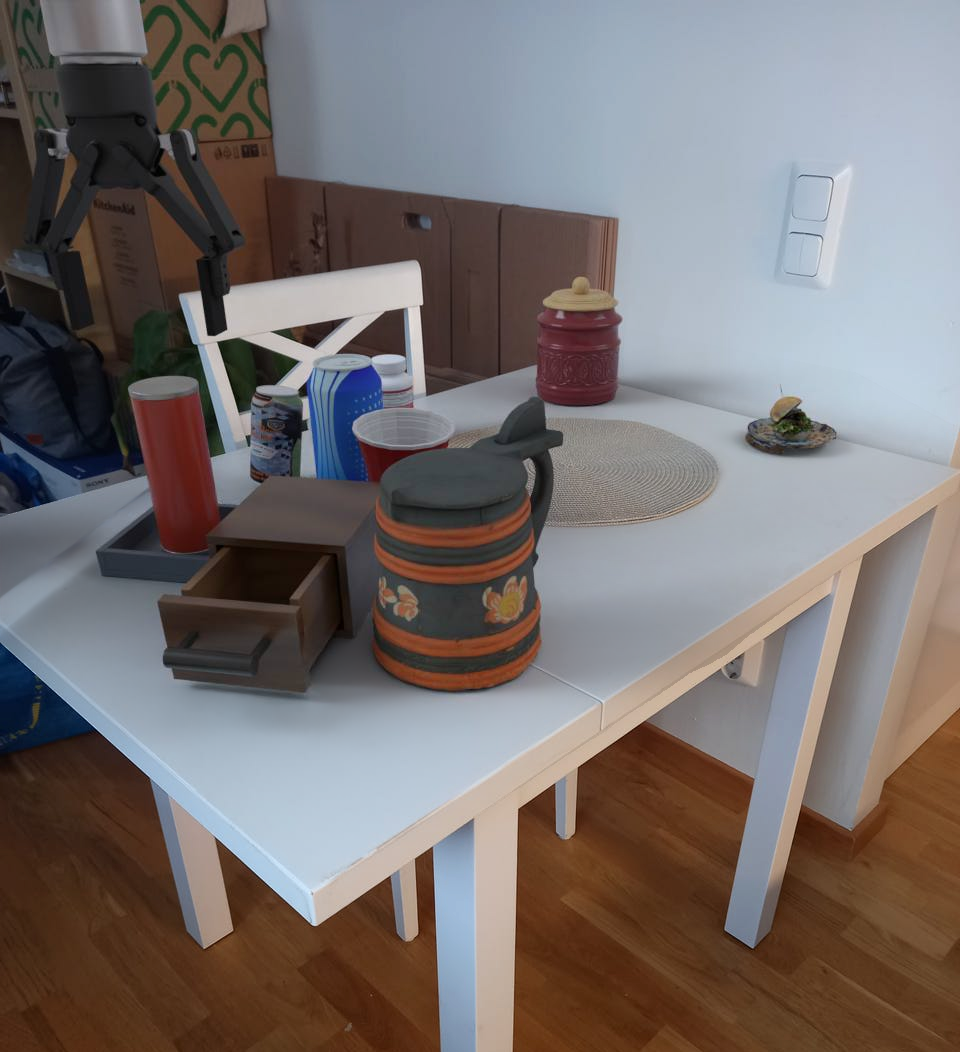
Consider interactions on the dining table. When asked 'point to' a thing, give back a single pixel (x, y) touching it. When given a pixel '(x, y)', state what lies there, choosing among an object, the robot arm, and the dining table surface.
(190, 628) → the drawer
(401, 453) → the plastic cup
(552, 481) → the beer stein
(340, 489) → the cabinet
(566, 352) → the kitchen canister
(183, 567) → the tray
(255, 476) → the beverage can
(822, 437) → the burger
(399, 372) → the pill bottle
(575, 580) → the dining table surface
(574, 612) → the dining table surface
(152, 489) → the tin
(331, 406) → the beer can
